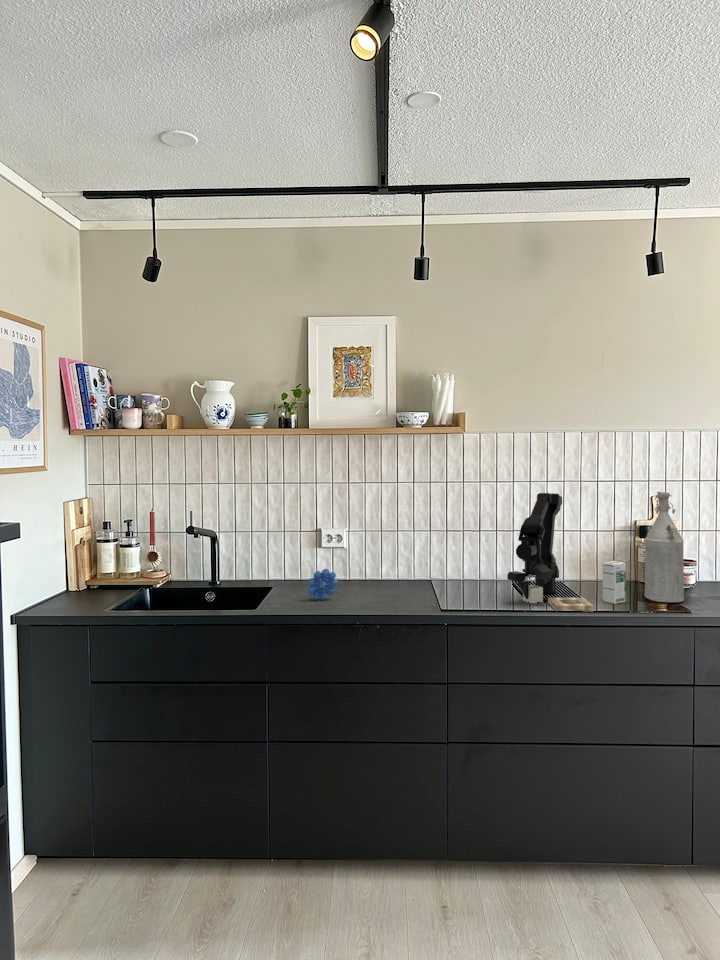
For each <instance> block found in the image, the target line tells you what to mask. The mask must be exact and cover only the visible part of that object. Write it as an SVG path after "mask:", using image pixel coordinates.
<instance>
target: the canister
mask: <svg viewBox="0 0 720 960" xmlns="http://www.w3.org/2000/svg"><path fill="white" fill-rule="evenodd" d="M670 497H672V495H671V494H670V492H667V491H657V492H656V495H655V498H654V501H657V500H658V504H657V506H656V507H654V511H655V513H656V514H657V517H656V519H655V520H654V522H653V524H652V526H651V527H650V529H649V532H648V533H647V535H646V537H645V538H644V540H645V541H644V542H645V543H644V597H645V598H646V599H648V600H650V601H653V602H658V603H682V602H684V601H685V593H684V592H685V588H684V587H685V585H684V583H685V582H684V581H685V580H684V579H685V572H684V571H685V569H684V568H685V566H684V562H685V560H684V559H685V558H684V548H685V547H684V544H685V543H684V541H685V540H684V538H683V537H682V535H681V534H680V532H679V530H678V528H677V527H676V525H675V523H674V522H673V520H672V517H671V515H670V514H669V511H670V509H671V510H672V511H671V512H672V514H675V512H676V511H677V509H676V508H674V504H673V503H672V502H670V501H669V499H670ZM656 499H657V500H656ZM670 505H671V506H672V507H671V506H670Z"/></svg>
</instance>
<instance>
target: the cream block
mask: <svg viewBox="0 0 720 960" xmlns="http://www.w3.org/2000/svg"><path fill="white" fill-rule="evenodd" d="M522 601H523V602H525V601H526V602H525V603H528V602H529V603H528V604H531V603H532V604H538V603H537V602H541V603H544V602H543V601H544V594H543V587H540V586H537V585H536V584H532V585H531V584H529V596H528V599H526V598H525V596H524V594H523V593H522Z"/></svg>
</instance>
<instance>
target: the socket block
mask: <svg viewBox="0 0 720 960" xmlns="http://www.w3.org/2000/svg"><path fill="white" fill-rule="evenodd" d="M547 603H549V604H550V605H551V606H552V607H553V608H554V611H556V612H557V611H583V612H585V613H586V612H590V613H591V612H594V610H595V609H594V605H593V604H592V603H590V602H589V601H588V600H587V599H585V598H584V597H548V598H547ZM549 604H548V605H549ZM550 605H549V606H550ZM551 606H550V607H551ZM552 607H551V608H552Z"/></svg>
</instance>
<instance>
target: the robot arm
mask: <svg viewBox="0 0 720 960" xmlns="http://www.w3.org/2000/svg"><path fill="white" fill-rule="evenodd" d="M562 504H563V497H562V496H561V495H560V494H559V493H550V492H540V493H537V495H536V501H535V503H534V506H533V508H532V511H531V514H530V515H529V516H528V517H526V518H525V520H524V521H523V523H522V524H521V526H520V530H519V535H518V541H519V542H520V544H518V545H517V546H516V549H515V554H516V556H517V557H518V558H519V559H520V560H522V562H524V568H523V569H522V572H521V571H519V570H518V571H515V570H514V571H509V572H508V573H507V574H506V575H507V576H506V577H507V579H506V580H509V581H511V582H514V583H515V582H516V583H517V584H518V585H519V587H520V590H521V591H522V595H523V594H524V596H525V598H526V599H528V596H529V585H531V584H530V583H531V581H529V578H534V580H535V581H534V582H535V585H537V586H540V587H543V595H551V594H552V595H553V594H559V591H557V590H556V589H557V588H556V586H557V585H556V584H557V583H556V579H559V578H560V569H559V567H558V565H557V564H558V563H557V559H556V557H555V555H554V553H553V551H554V550H553V547H554V538H555V537H554V535H555V525H556V516H557V515H558V513H559V512H560V511H561V506H562Z"/></svg>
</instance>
